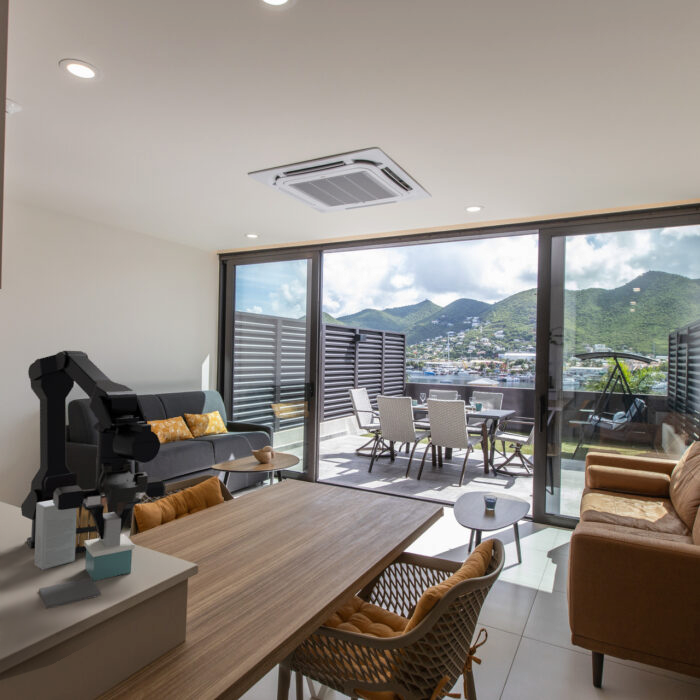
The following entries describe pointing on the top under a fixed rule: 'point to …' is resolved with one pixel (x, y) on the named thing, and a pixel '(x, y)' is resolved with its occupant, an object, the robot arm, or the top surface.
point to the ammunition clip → (86, 527)
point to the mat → (69, 592)
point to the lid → (110, 538)
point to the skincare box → (54, 535)
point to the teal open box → (108, 564)
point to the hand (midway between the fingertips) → (109, 537)
